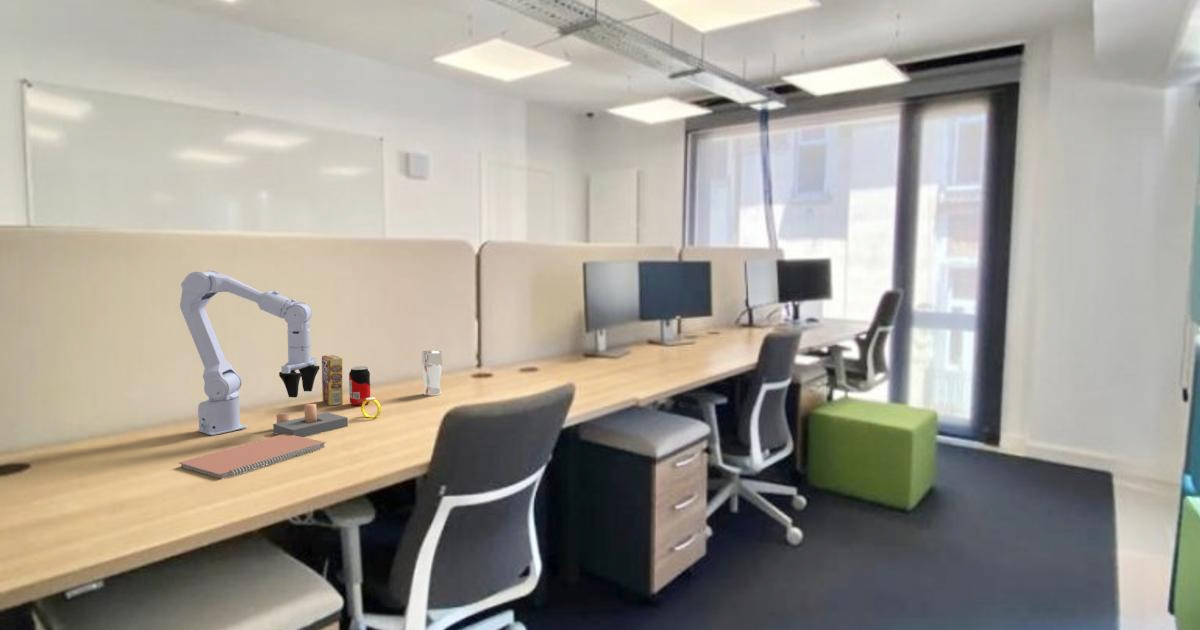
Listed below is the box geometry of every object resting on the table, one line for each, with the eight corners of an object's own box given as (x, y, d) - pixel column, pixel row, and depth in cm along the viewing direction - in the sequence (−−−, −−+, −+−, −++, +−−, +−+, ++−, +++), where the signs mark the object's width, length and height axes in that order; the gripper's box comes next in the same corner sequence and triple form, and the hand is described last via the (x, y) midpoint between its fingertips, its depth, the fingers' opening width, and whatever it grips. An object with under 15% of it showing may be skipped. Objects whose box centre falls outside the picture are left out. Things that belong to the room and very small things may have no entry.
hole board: (293, 439, 168) (293, 430, 168) (273, 432, 174) (273, 423, 174) (347, 426, 181) (347, 417, 181) (327, 420, 187) (327, 412, 187)
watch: (360, 418, 191) (358, 399, 190) (365, 416, 193) (364, 397, 193) (378, 418, 189) (376, 399, 189) (383, 416, 192) (381, 397, 191)
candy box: (344, 404, 207) (342, 357, 206) (330, 406, 205) (328, 359, 203) (335, 399, 214) (334, 354, 213) (322, 400, 211) (320, 355, 210)
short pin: (280, 430, 177) (280, 416, 176) (274, 428, 178) (274, 414, 178) (291, 428, 179) (290, 414, 179) (285, 426, 181) (284, 412, 180)
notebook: (223, 482, 138) (222, 473, 138) (178, 469, 146) (178, 461, 146) (328, 449, 162) (328, 441, 162) (285, 439, 170) (285, 432, 170)
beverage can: (366, 406, 204) (365, 369, 203) (346, 406, 204) (345, 369, 203) (373, 402, 211) (372, 366, 209) (354, 401, 211) (353, 366, 210)
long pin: (308, 431, 176) (308, 406, 175) (303, 429, 177) (302, 405, 177) (319, 429, 178) (318, 404, 177) (313, 427, 180) (312, 403, 179)
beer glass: (446, 393, 224) (446, 351, 223) (431, 397, 218) (431, 354, 217) (432, 391, 228) (432, 349, 227) (417, 394, 222) (417, 352, 221)
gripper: (298, 350, 170) (300, 400, 172) (326, 343, 185) (327, 389, 186) (273, 349, 171) (275, 399, 172) (302, 342, 185) (304, 388, 187)
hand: (300, 394), depth 179 cm, fingers open, 7 cm apart
